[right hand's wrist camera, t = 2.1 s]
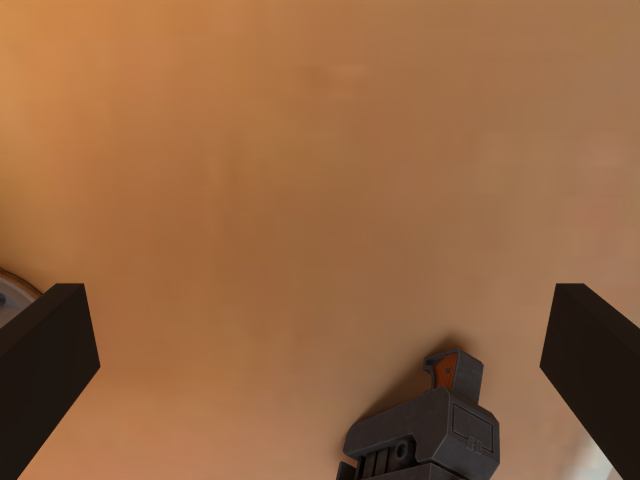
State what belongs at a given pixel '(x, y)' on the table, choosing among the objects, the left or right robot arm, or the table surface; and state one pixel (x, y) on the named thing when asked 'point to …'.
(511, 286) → the table surface
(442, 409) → the tool
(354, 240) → the table surface
